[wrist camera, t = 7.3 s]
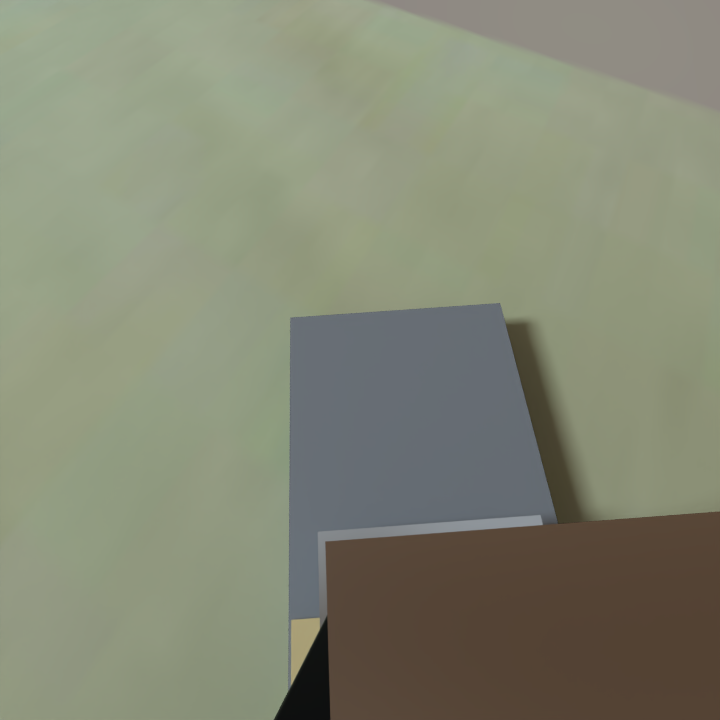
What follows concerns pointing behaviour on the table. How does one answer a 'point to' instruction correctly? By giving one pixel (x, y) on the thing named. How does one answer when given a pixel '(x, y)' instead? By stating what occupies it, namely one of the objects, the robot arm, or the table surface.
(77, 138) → the table surface
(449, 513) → the tensioner track
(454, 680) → the brown wooden block
